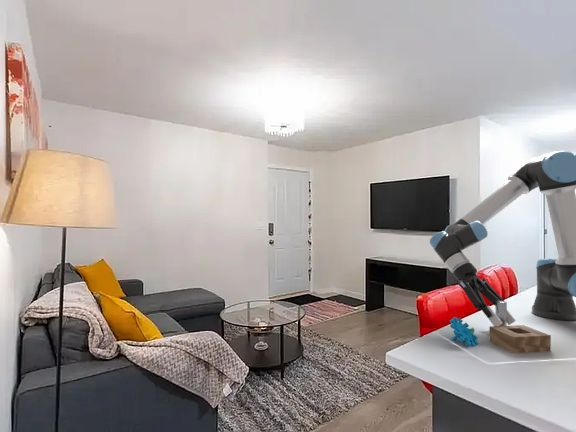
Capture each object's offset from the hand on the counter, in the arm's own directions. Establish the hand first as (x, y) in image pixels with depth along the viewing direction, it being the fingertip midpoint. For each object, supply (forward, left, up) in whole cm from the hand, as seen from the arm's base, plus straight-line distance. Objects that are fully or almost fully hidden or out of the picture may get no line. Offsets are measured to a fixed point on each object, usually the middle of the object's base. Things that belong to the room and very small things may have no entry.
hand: (505, 324), depth 114 cm
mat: (-1, -3, -5) cm, 6 cm away
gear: (+16, +2, -5) cm, 17 cm away
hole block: (+1, +7, -5) cm, 9 cm away
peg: (-1, -3, -4) cm, 5 cm away
